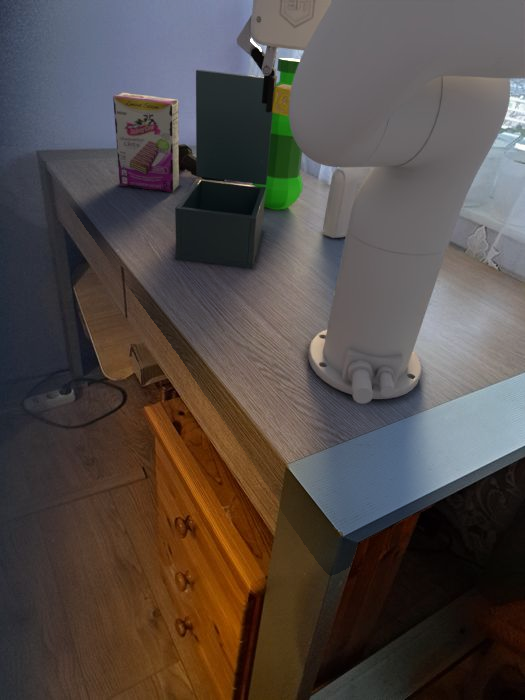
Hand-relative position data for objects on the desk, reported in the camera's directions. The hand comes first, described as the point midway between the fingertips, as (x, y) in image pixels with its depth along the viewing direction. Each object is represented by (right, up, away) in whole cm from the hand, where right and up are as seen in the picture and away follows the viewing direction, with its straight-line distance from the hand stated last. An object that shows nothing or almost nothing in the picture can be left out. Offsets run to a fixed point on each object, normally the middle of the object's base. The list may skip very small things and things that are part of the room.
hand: (286, 111), depth 62 cm
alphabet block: (0, 0, 0) cm, 0 cm away
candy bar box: (-26, +3, +37) cm, 45 cm away
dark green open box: (-10, -13, +17) cm, 24 cm away
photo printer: (+12, -9, +26) cm, 30 cm away
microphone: (-17, +7, +44) cm, 48 cm away
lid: (-8, +3, +13) cm, 15 cm away
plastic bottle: (-1, -2, +35) cm, 35 cm away
